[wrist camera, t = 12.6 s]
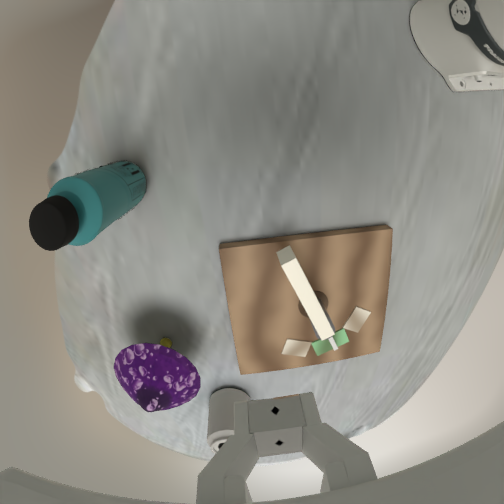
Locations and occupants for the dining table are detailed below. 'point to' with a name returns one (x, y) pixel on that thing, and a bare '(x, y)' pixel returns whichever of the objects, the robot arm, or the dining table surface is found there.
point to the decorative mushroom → (156, 375)
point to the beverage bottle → (86, 205)
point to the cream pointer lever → (307, 296)
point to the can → (222, 416)
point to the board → (290, 307)
